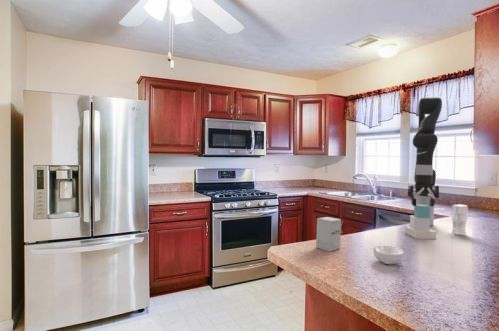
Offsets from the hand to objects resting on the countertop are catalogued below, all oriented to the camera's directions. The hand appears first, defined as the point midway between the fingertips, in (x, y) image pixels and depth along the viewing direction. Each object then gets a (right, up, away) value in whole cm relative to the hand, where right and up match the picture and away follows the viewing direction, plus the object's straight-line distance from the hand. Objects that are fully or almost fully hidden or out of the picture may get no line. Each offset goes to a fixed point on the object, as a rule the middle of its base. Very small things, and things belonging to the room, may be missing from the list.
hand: (422, 206), depth 149 cm
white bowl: (-36, -16, -40) cm, 56 cm away
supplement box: (-54, -15, -23) cm, 61 cm away
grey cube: (-1, -12, +1) cm, 12 cm away
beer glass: (+23, -16, +7) cm, 29 cm away
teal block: (0, -6, +1) cm, 6 cm away
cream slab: (-1, -16, +1) cm, 16 cm away
